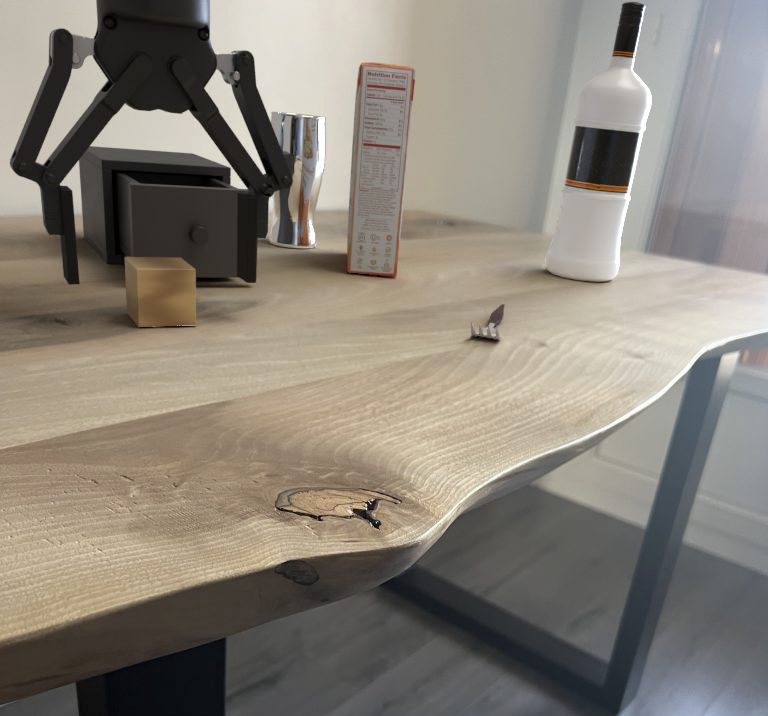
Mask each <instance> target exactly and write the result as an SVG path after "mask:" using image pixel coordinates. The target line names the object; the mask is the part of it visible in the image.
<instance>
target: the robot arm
mask: <svg viewBox="0 0 768 716" xmlns="http://www.w3.org/2000/svg"><path fill="white" fill-rule="evenodd" d="M95 1H96V2H95V3H96V17H97V18H96V19H97V23H96V24H97V25H96V31H95V33H94V36H93V38H91V37H88V36H83V35H80V34H76V33H71V32H70V30H68V29H66V28H60V27H59V28H55V29H53V30H52V31H50V33H49V37H48V65H47V68H46V69H45V72H44V75H43V77H42V80H41V82H40V85H39V87H38V90H37V92H36V95H35V98H34V100H33V103H32V105H31V107H30V110H29V112H28V115H27V117H26V120H25V122H24V124H23V127H22V129H21V132H20V135H19V136H18V140H17V142H16V144H15V146H14V149H13V152H12V154H11V157H10V159H9V166H10V168H11V170H12V171H13V172H14V174H15V175H17V176H18V177H21V178H24V179H27V180H29V181H32V182H34V183H35V184H37V185H38V188H39V192H40V201H41V202H40V203H41V213H42V223H43V226H44V228H45V230H46V232H47V233H48V235H49V236H59V237H60V238H59V239H60V249H61V260H62V262H61V263H62V269H63V270H62V271H63V277H64V280H65V281H66V282H67V284H68V285H80V284H81V283H80V272H79V271H80V270H79V259H78V245H77V233H76V221H75V207H74V195H73V190H72V189H71V188H70V187H69V186H68V185H61V184H62V183H63V181H64V180H65V178H66V177H67V176H68V175H69V173H70V172H71V171H72V170H73V168H74V167H75V166H76V164H77V163H79V159H80V158H81V157H82V155H83V154H84V153H85V152H86V150H87V149H88V148H89V146H92V144H93V143H94V141H95V140H96V139H97V138H98V136H99V135H100V134H101V133H102V131H103V130H104V129H105V128H106V126H107V125H108V124H109V123H110V121H112V119H113V117H114V116H116V115H117V114H118V113H119V112H120V110H122V108H123V107H124V106H125V105H126V106H128V107H129V108H130V109H131V108H132V110H135V111H142V112H153V111H157V110H160V111H163V112H165V113H170V114H180V115H183V113H185V112H187V111H189V113H190V114H191V115H192V117H193V118H195V120H196V121H197V122H198V123H199V124H200V126H201V127H202V129H203V130H204V131H205V132H206V134H207V135H208V136H209V138H210V139H211V141H212V142H213V143H214V145H215V146H216V147H217V149H218V150H219V152H220V154H222V156H223V157H224V158H225V160H226V161H227V163H228V165H230V168H231V169H232V170H233V171H234V173H235V174H236V175H237V176H238V178H239V179H240V181H241V182H242V183H243V184H244V186H245V187H246V189H248V190H249V194H247V193H238V195H237V276H238V277H239V279H240V280H242V281H243V282H245V283H246V284H256V283H257V276H256V255H257V256H258V240H257V238H258V239H266V238H267V236H268V233H269V207H270V206H269V202H270V198H272V195H273V194H274V192H275V191H278V190H281V189H287V188H290V187H291V185H292V184H293V178H292V175H291V173H290V170H289V168H288V165H287V162H286V160H285V157H284V155H283V152H282V150H281V147H280V145H279V142H278V140H277V137H276V134H275V132H274V129H273V127H272V124H271V118H270V117H269V114H268V112H267V110H266V107H265V104H264V101H263V99H262V96H261V94H260V91H259V89H258V85H257V78H256V63H255V57H254V55H253V53H252V52H250V51H249V50H243V49H241V50H233V51H231V52H219V53H218V52H215V50H214V48H213V46H212V41H211V0H95ZM89 56H92V58H93V60H94V62H95V63H96V65H97V66H98V67H99V69H100V70H101V72H102V73H103V75H104V76H105V78H106V79H107V81H106V82H105V83H104V84H103V86H101V88H100V90H99V91H98V92H97V94H95V96H94V98H93V100H92V102H91V103H90V104H89V105H88V107H87V108H86V109H85V110H84V111H83V113H82V115H81V116H80V117H79V118H78V119H77V120H76V121H75V124H73V126H72V127H71V129H69V131H68V132H67V134H66V135H65V136H64V137H63V139H62V140H61V141H60V142H59V143H58V145H57V146H56V147H55V149H54V150H53V151H52V152H51V154H50V155H49V156H48V158H47V159H46V160H45V162H44V163H43V164H42V163H40V162H37V159H38V158H39V155H40V152H41V150H42V148H43V146H44V145H43V144H44V143H45V141H46V138H47V135H48V133H49V131H50V128H51V126H52V124H53V120H54V119H55V116H56V113H57V112H58V109H59V106H60V104H61V102H62V99H63V97H64V94H65V92H66V89H67V87H68V85H69V82H70V79H71V75H72V70H78V69H81V68H82V66H83V65H84V62H85V60H86V58H87V57H89ZM216 71H218V72H219V73H220V74H221V77H222V80H223V81H224V82H225V83H226V85H230V87H231V90H232V93H233V94H232V95H233V97H234V99H235V101H236V104H237V106H238V110H239V112H240V115H241V116H242V118H243V121H244V123H245V126H246V128H247V131H248V133H249V136H250V138H251V140H252V143H253V145H254V148H255V150H256V152H257V155H258V157H259V160H260V162H261V165H262V167H263V169H264V172H265V173H263V172H262V171H261V169H260V168H259V166H258V165H257V164H256V162H255V161H254V159H253V158H252V157H251V155H250V154H249V151H247V149H246V148H245V146H244V145H243V143H242V142H241V141H240V139H239V137H237V135H236V134H235V132H234V131H233V129H232V128H231V127H230V125H229V124H228V122H227V121H226V119H225V118H224V117H223V115H222V114H221V112H220V109H219V107H218V106H217V104H216V103H215V101H214V100H213V99H212V97H211V96H210V94H209V93H208V91H207V90H206V89H205V88H206V86H207V85H208V83H209V82H210V81H211V79H212V78H213V76H214V75H215V73H216Z"/></svg>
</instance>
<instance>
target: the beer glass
mask: <svg viewBox="0 0 768 716" xmlns="http://www.w3.org/2000/svg"><path fill="white" fill-rule="evenodd" d="M270 122H271V124H272V127H273V129H274V132H275V134H276V137H277V140H278V142H279V145H280V147H281V150H282V152H283V155H284V157H285V160H286V162H287V165H288V168H289V170H290V173H291V175H292V178H293V184H292V185H291V187H290V188H287V189H281V190H278V191H275V192H274V194H273V195H272V196H271V199H272V222H271V226H270V227H271V228H270V233H269V237H268V243H269V244H270V245H272V246H276V247H281V248H288V249H303V250H304V249H305V250H306V249H314V248H316V247H317V244H318V243H317V233H316V213H317V212H316V211H317V210H316V209H317V205H318V202H319V201H318V200H319V196H320V192H321V188H322V184H323V176H324V172H325V166H326V154H327V153H326V152H327V132H326V131H327V127H326V126H327V125H326V124H327V118H326V117H325V116H322V115H321V116H320V115H312V114H304V113H295V112H283V111H271V112H270Z"/></svg>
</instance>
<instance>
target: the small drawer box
mask: <svg viewBox="0 0 768 716" xmlns="http://www.w3.org/2000/svg"><path fill="white" fill-rule="evenodd" d="M78 167H79V183H80V184H79V185H80V198H81V212H82V213H81V214H82V216H81V217H82V229H83V238H84V239H85V240H86V242H87V243H88V244H89V245H90V246H91V247H92V248H93V250H94V251H95V252H96V253H97V254H98V255H99V256H100V258H101V259H102V260H103V261H104V262H105V263H106V264H108V265H125V257H127V256H126V255H125V254H124V253H123V252H122V251H121V250H120V249H119V248H118V247H117V246H116V245H115V228H114V207H113V186H112V170H116V171H132V172H149V173H166V174H183V175H200V176H210V177H213V178H215V179H217V180H220V181H222V182H224V183H227V184H229V185H231V182H232V181H231V179H232V178H231V177H232V167H231V166H227V165H224V164H222V163H219V162H217V161H214V160H211V159H208V158H206V157H204V156H200V155H198V154H195V153H193V152H192V153H191V152H180V151H179V152H178V151H166V150H165V151H164V150H163V151H162V150H149V149H135V148H122V147H109V146H93V145H90V146H89V148H88V149H87V150H86V152H85V153H84V154H83V155H82V157H81V158H80V159H79V160H78ZM231 186H232V185H231Z"/></svg>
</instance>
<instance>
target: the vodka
mask: <svg viewBox="0 0 768 716" xmlns="http://www.w3.org/2000/svg"><path fill="white" fill-rule="evenodd" d="M645 10H646V5H645V4H644V3H641V2H638V1H625V2H623V3H622V4H621V8H620V14H619V19H618V23H617V24H618V26H617V29H616V33H615V39H614V44H613V49H612V54H611V59H610V63H609V67H608V68H607V69H606V70H604V71H602V72H600V73H599V74H597V75H596V76H594V77H592V79H590V80H588V81H587V82H586V83H585V84H584V85H583V86H582V88H581V90H580V91H579V95H578V98H577V108H576V118H575V119H574V124H575V125H574V131H573V136H572V142H571V147H570V151H569V152H570V153H569V156H568V157H569V158H568V163H567V169H566V175H565V180H564V187H562V188H561V200H560V206H559V211H558V215H557V221H556V226H555V230H554V233H553V235H552V236H553V237H552V238H551V239H552V240H551V241H550V245H549V248H548V250H546V255H545V261H544V264H545V269H546V270H547V271H548V272H549V273H550V274H552V275H554V276H557V277H561V278H564V279H568V280H569V279H570V280H575V281H583V282H590V283H591V282H594V283H604V282H609V281H611V280H613V279H615V278H616V276H617V275H618V273H619V269H620V263H621V259H620V252H621V241H622V240H621V237H622V234H623V227H624V223H625V218H626V214H627V210H628V206H629V202H630V201H631V195H630V193H631V189H632V185H633V180H634V176H635V171H636V167H637V162H638V157H639V152H640V148H641V143H642V140H643V134H644V132H645V131H646V129H647V126H646V122H647V119H648V116H649V113H650V111H651V106H652V93H651V91H650V88H649V87H648V86H647V85H646V84H645V82H644V81H643V80H642V79H641V78H640V77H639V76H638V74H637V73H635V71H634V64H635V57H636V53H637V48H638V43H639V38H640V33H641V30H642V29H641V27H642V23H643V20H644V15H645V14H644V13H645Z"/></svg>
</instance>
